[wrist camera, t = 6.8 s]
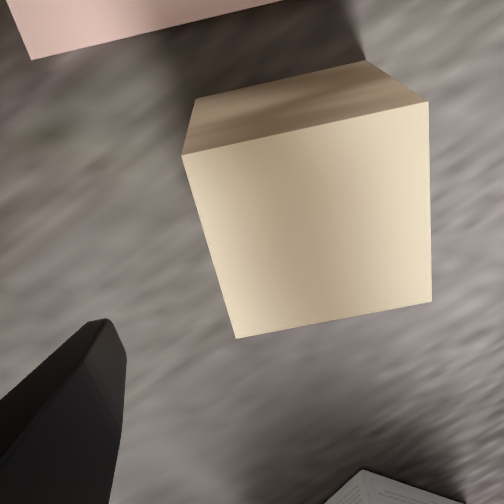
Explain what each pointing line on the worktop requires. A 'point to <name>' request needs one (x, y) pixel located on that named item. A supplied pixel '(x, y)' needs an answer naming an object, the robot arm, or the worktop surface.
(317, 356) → the worktop surface
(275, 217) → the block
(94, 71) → the worktop surface
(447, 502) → the supplement box
